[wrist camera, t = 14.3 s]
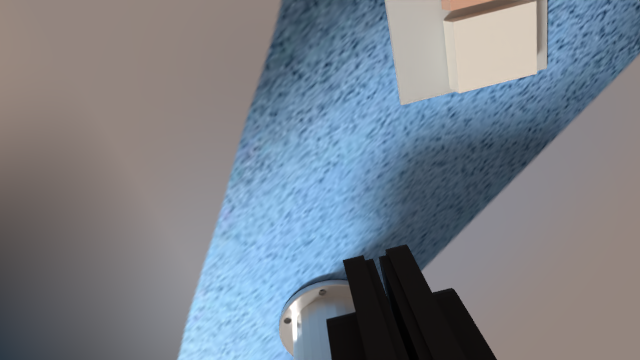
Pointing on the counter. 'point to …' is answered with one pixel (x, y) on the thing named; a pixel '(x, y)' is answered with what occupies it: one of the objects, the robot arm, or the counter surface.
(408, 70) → the grey mat
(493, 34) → the cream block
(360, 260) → the robot arm
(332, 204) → the counter surface
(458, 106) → the counter surface
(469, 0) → the salmon pink block
